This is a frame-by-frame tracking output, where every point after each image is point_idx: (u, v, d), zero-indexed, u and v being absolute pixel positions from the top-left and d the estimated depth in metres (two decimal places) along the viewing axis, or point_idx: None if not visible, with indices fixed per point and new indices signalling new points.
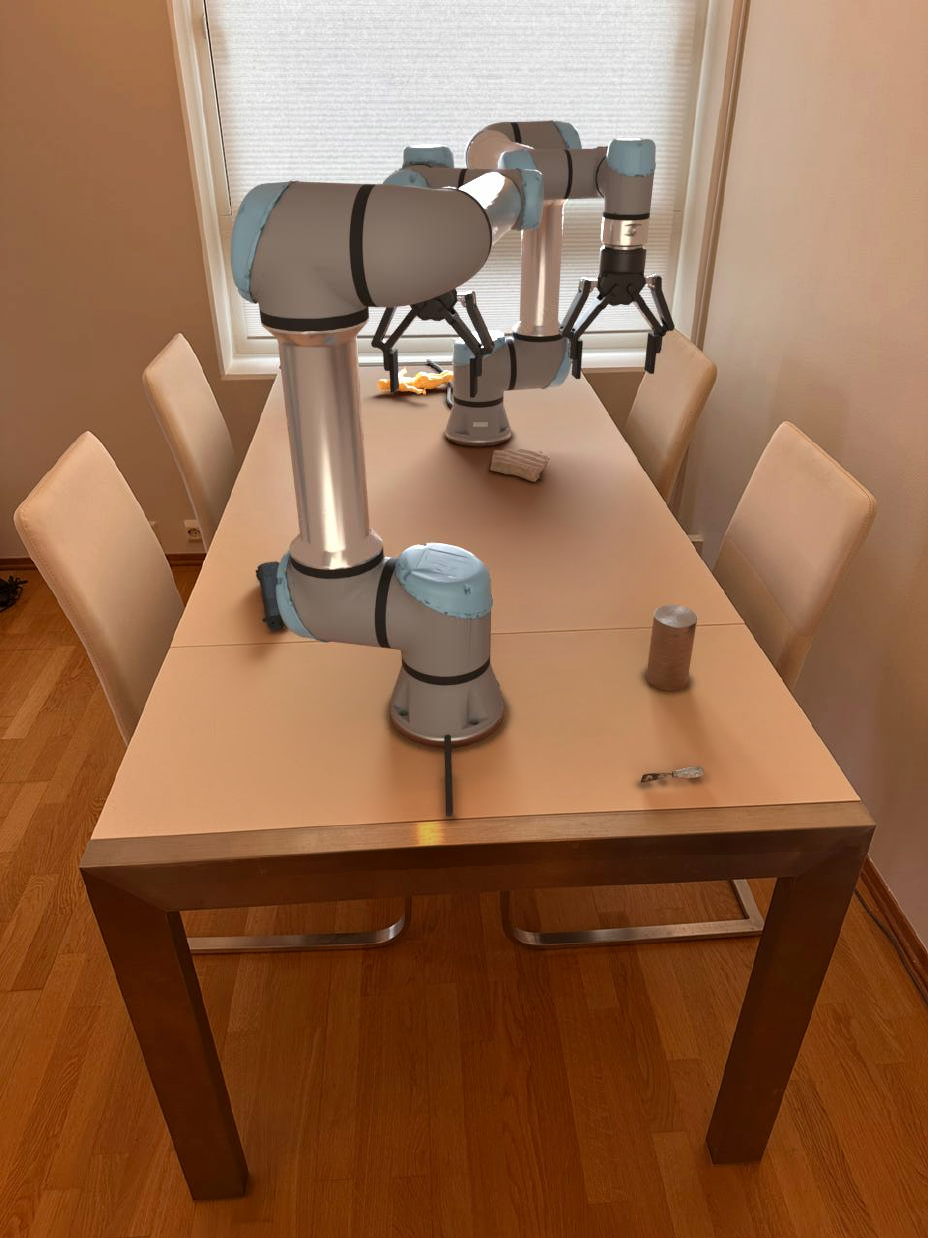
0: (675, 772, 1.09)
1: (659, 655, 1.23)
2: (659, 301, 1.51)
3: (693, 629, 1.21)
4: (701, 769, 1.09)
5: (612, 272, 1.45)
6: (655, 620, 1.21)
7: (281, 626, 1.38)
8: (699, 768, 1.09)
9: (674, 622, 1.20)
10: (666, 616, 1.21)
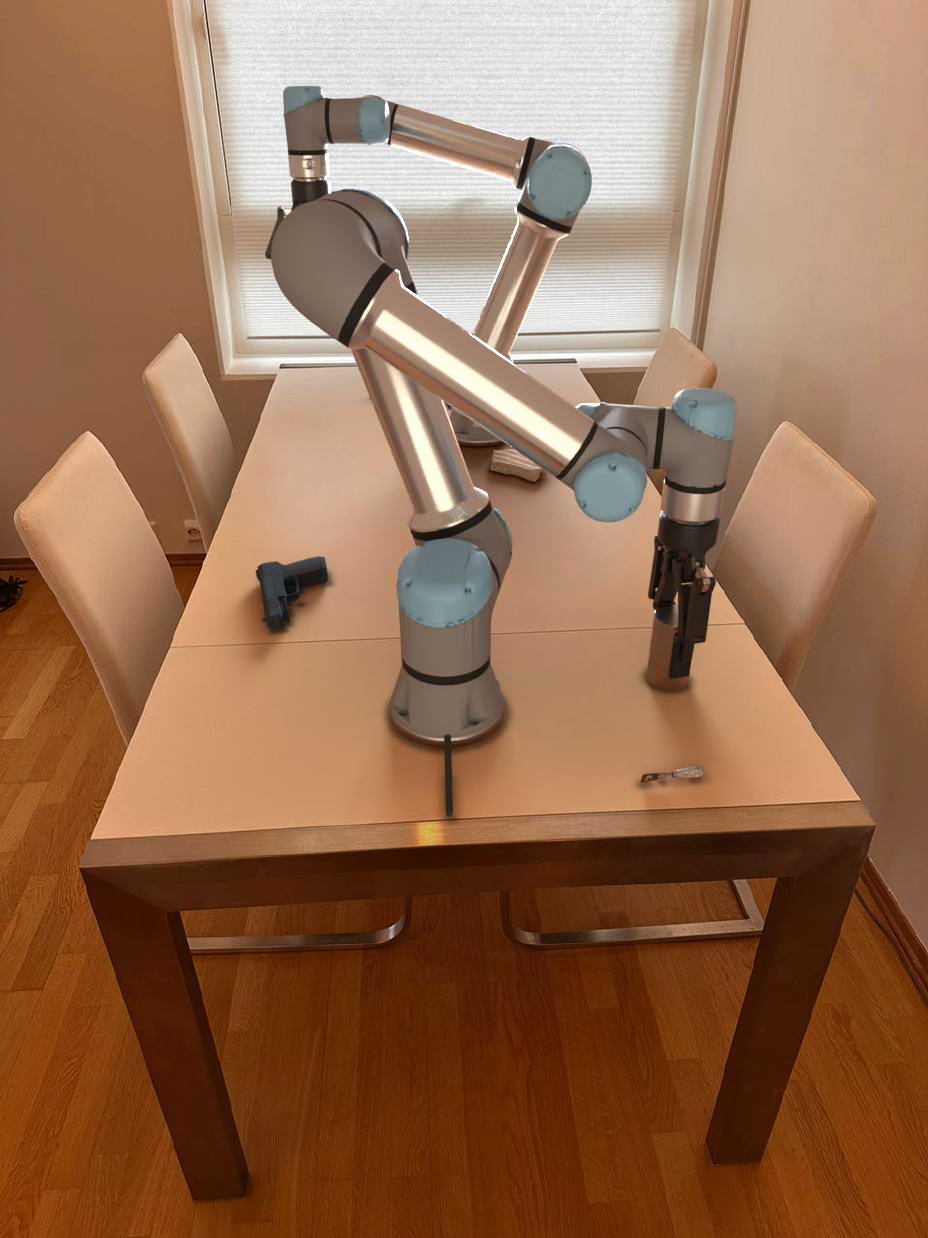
0: (675, 772, 1.09)
1: (659, 655, 1.23)
2: None
3: None
4: (701, 769, 1.09)
5: (299, 201, 1.71)
6: (655, 620, 1.21)
7: (281, 626, 1.38)
8: (699, 768, 1.09)
9: (674, 622, 1.20)
10: (666, 616, 1.21)
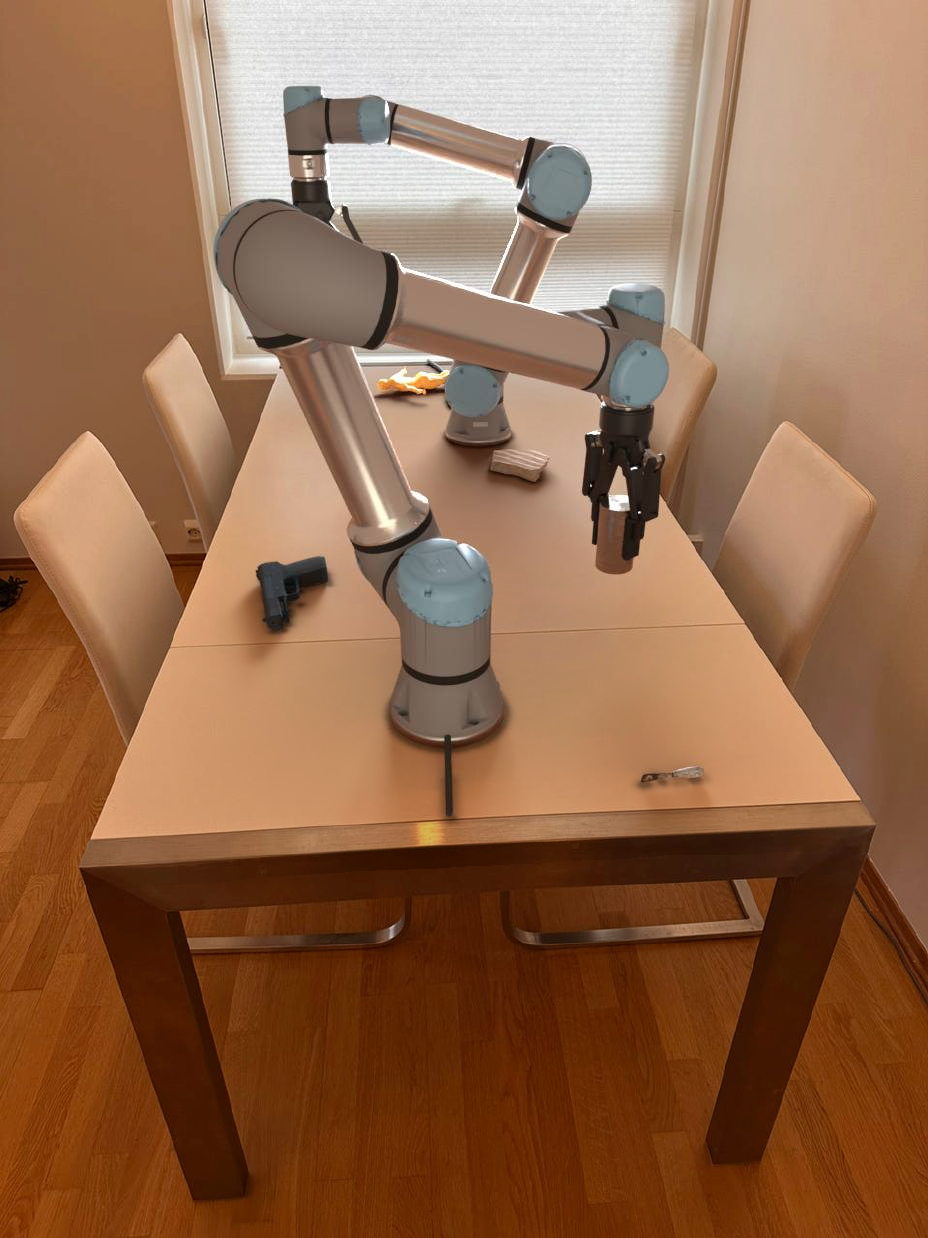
0: (675, 772, 1.09)
1: (612, 542, 1.33)
2: (349, 228, 1.77)
3: None
4: (701, 769, 1.09)
5: (299, 201, 1.71)
6: (605, 510, 1.32)
7: (281, 626, 1.38)
8: (699, 768, 1.09)
9: (623, 507, 1.31)
10: (612, 504, 1.32)
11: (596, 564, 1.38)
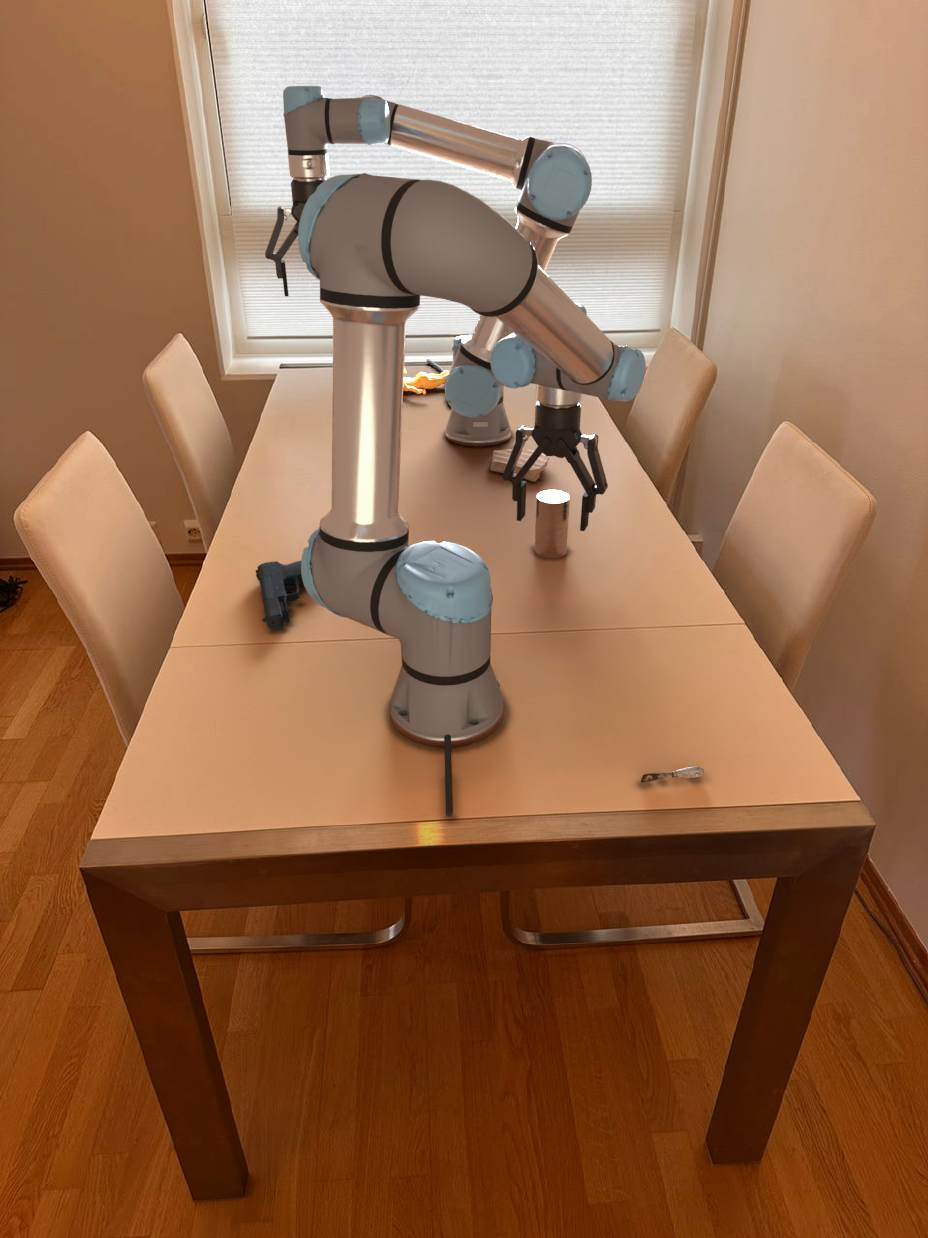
0: (675, 772, 1.09)
1: (556, 530, 1.55)
2: None
3: None
4: (701, 769, 1.09)
5: (299, 201, 1.71)
6: (547, 505, 1.53)
7: (281, 626, 1.38)
8: (699, 768, 1.09)
9: (560, 499, 1.54)
10: (550, 499, 1.54)
11: (539, 553, 1.59)
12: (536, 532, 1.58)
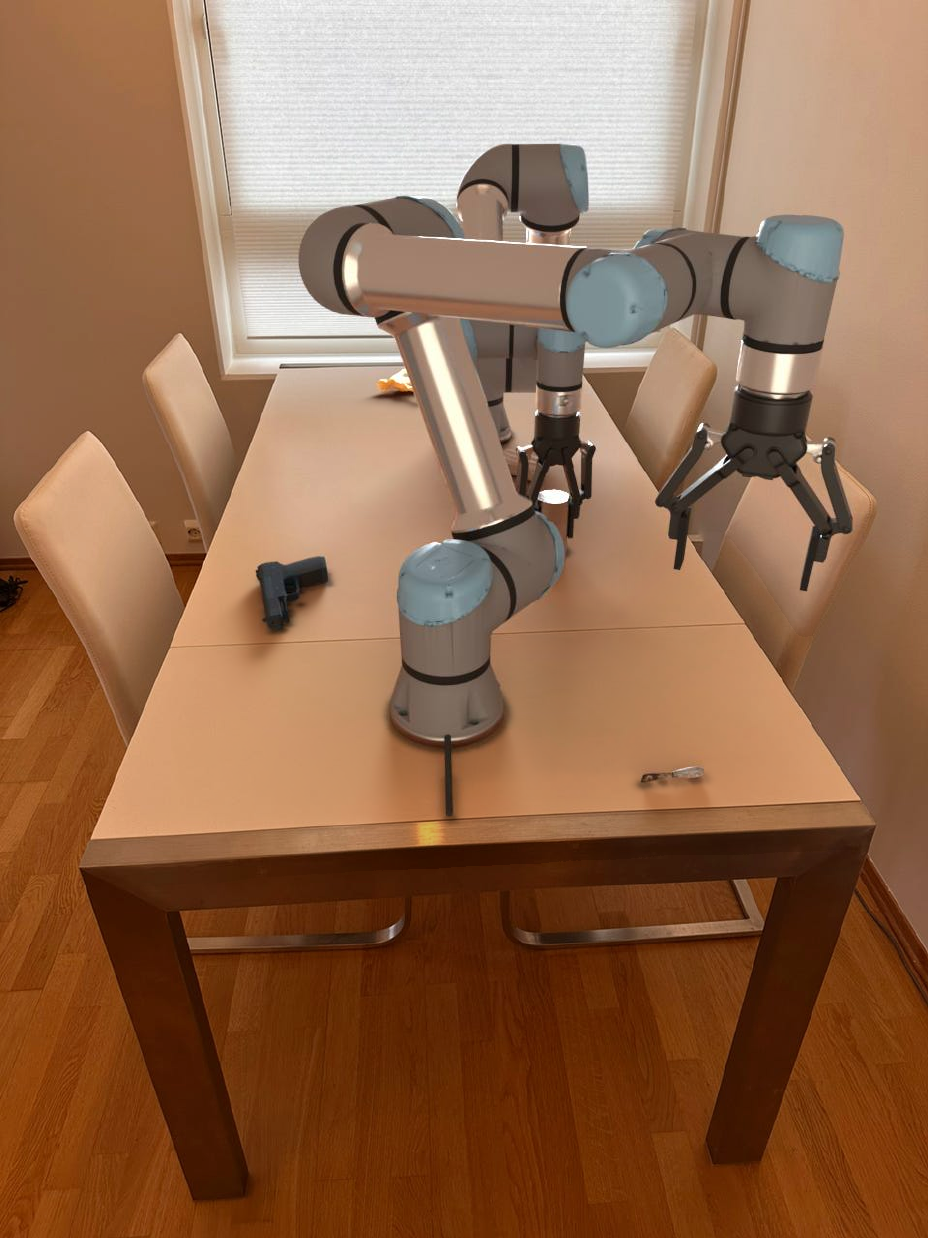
0: (675, 772, 1.09)
1: None
2: (586, 468, 1.52)
3: None
4: (701, 769, 1.09)
5: (546, 438, 1.46)
6: (548, 505, 1.53)
7: (281, 626, 1.38)
8: (699, 768, 1.09)
9: (560, 499, 1.54)
10: (550, 499, 1.54)
11: None
12: None
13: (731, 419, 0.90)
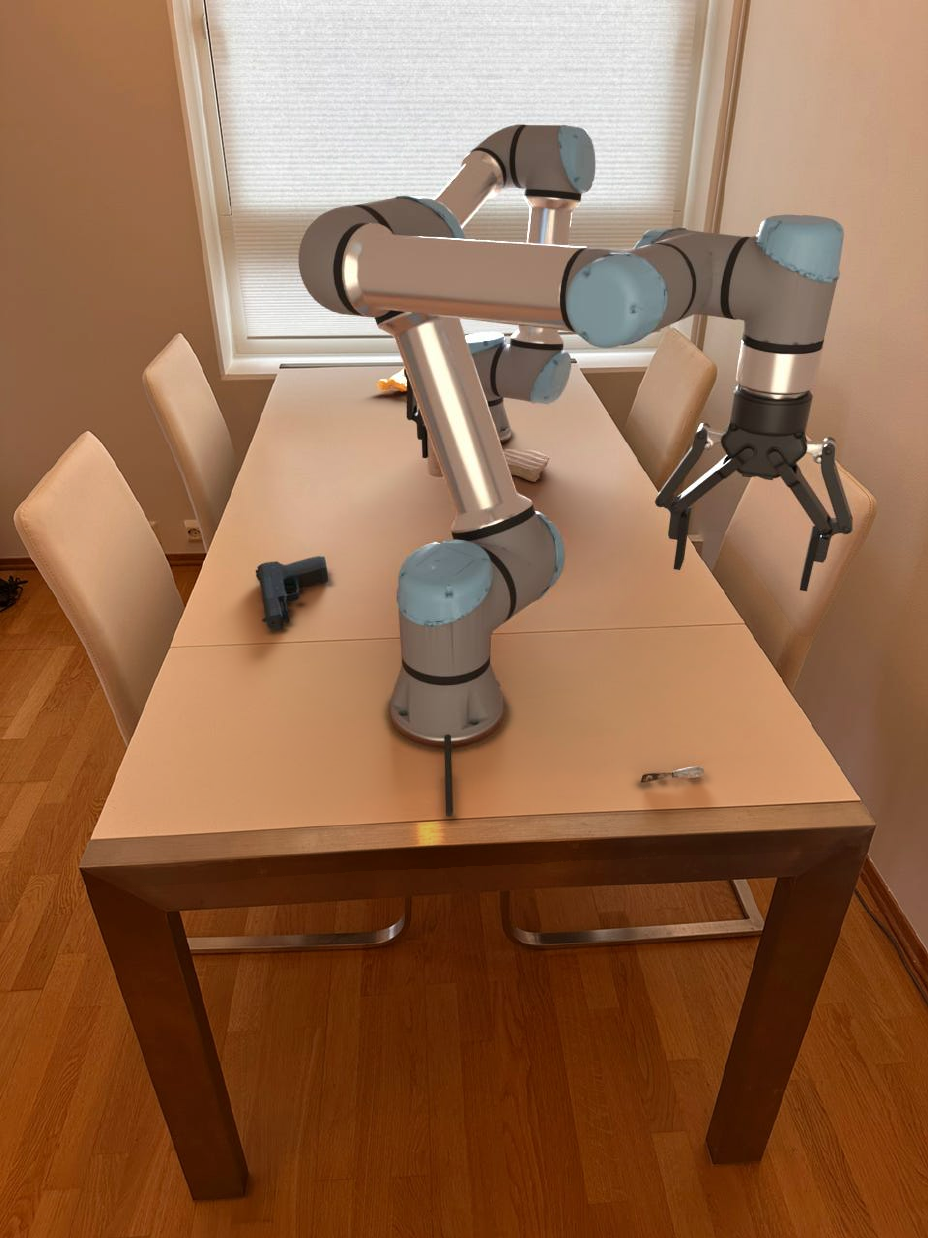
0: (675, 772, 1.09)
1: None
2: None
3: None
4: (701, 769, 1.09)
5: None
6: None
7: (281, 626, 1.38)
8: (699, 768, 1.09)
9: None
10: None
11: (428, 470, 1.72)
12: None
13: (731, 419, 0.90)
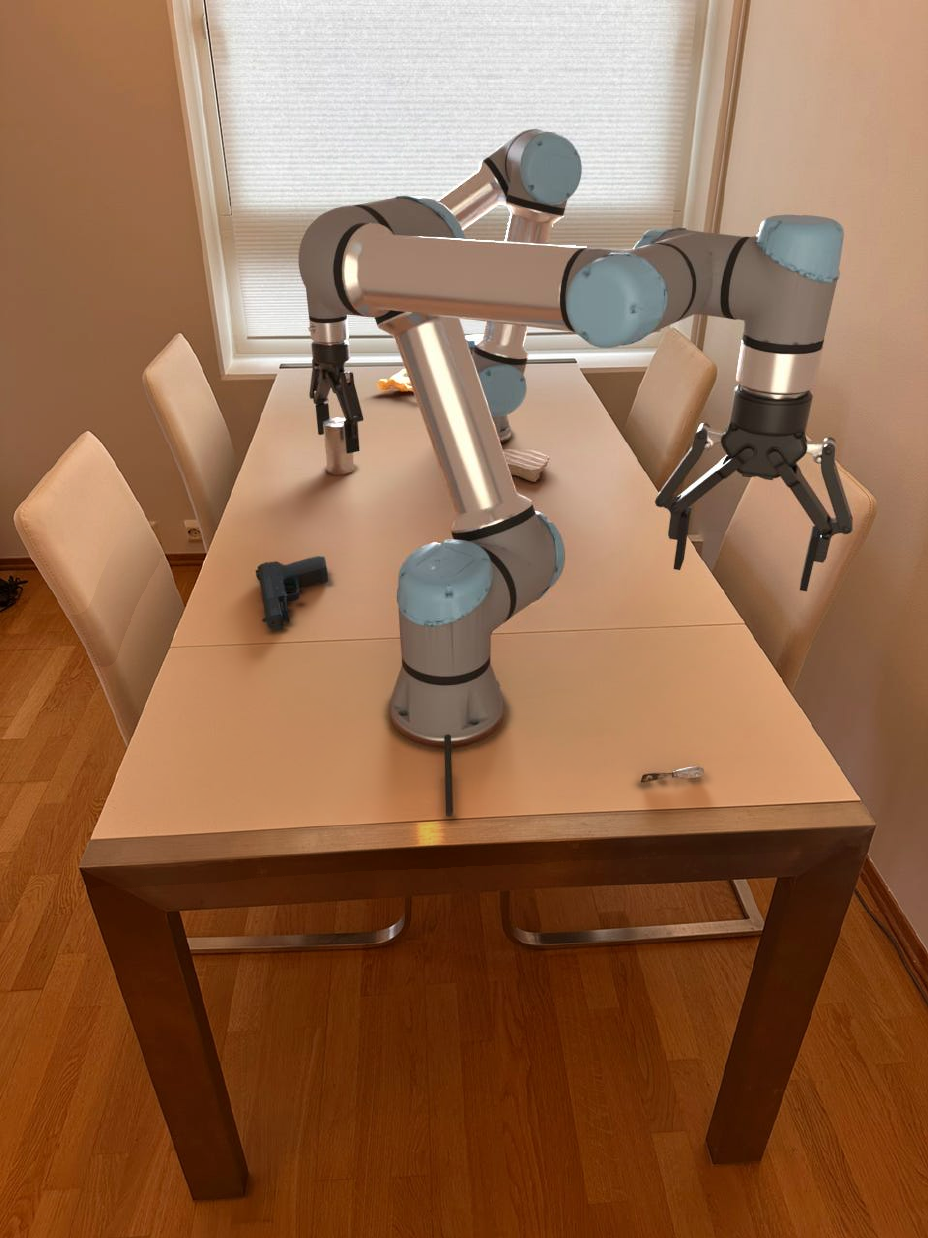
0: (675, 772, 1.09)
1: (326, 448, 1.89)
2: (343, 394, 1.78)
3: (344, 430, 1.86)
4: (701, 769, 1.09)
5: None
6: (323, 423, 1.88)
7: (281, 626, 1.38)
8: (699, 768, 1.09)
9: (332, 424, 1.86)
10: (330, 421, 1.88)
11: None
12: None
13: (731, 419, 0.90)
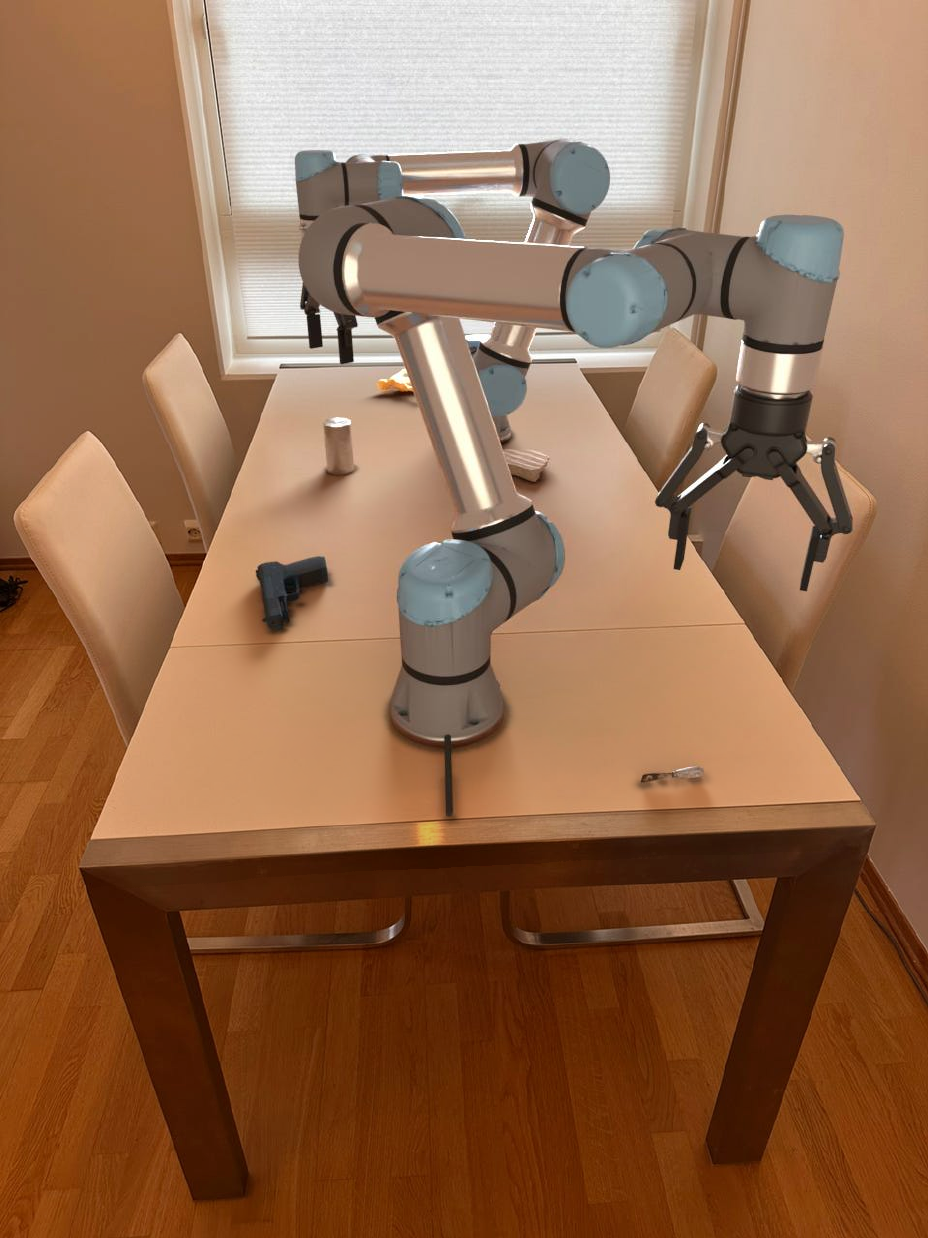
0: (675, 772, 1.09)
1: (326, 448, 1.89)
2: None
3: (344, 430, 1.86)
4: (701, 769, 1.09)
5: None
6: (323, 423, 1.88)
7: (281, 626, 1.38)
8: (699, 768, 1.09)
9: (332, 424, 1.86)
10: (330, 421, 1.88)
11: None
12: None
13: (731, 419, 0.90)
